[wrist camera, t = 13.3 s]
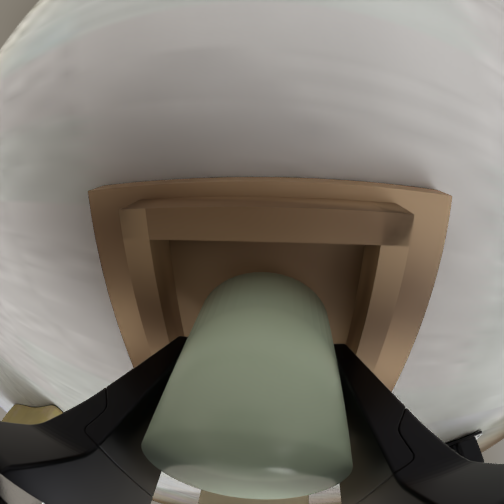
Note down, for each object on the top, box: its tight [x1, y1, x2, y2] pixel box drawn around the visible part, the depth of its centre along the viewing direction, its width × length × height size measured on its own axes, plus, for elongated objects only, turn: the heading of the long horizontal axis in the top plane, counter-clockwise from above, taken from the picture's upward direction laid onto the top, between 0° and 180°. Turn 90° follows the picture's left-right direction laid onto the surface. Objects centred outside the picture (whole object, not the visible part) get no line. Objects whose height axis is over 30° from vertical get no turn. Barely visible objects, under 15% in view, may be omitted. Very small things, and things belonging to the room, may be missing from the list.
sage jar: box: [141, 272, 353, 499], centre depth 7 cm, size 5×5×6 cm
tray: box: [88, 177, 452, 392], centre depth 12 cm, size 20×14×3 cm
